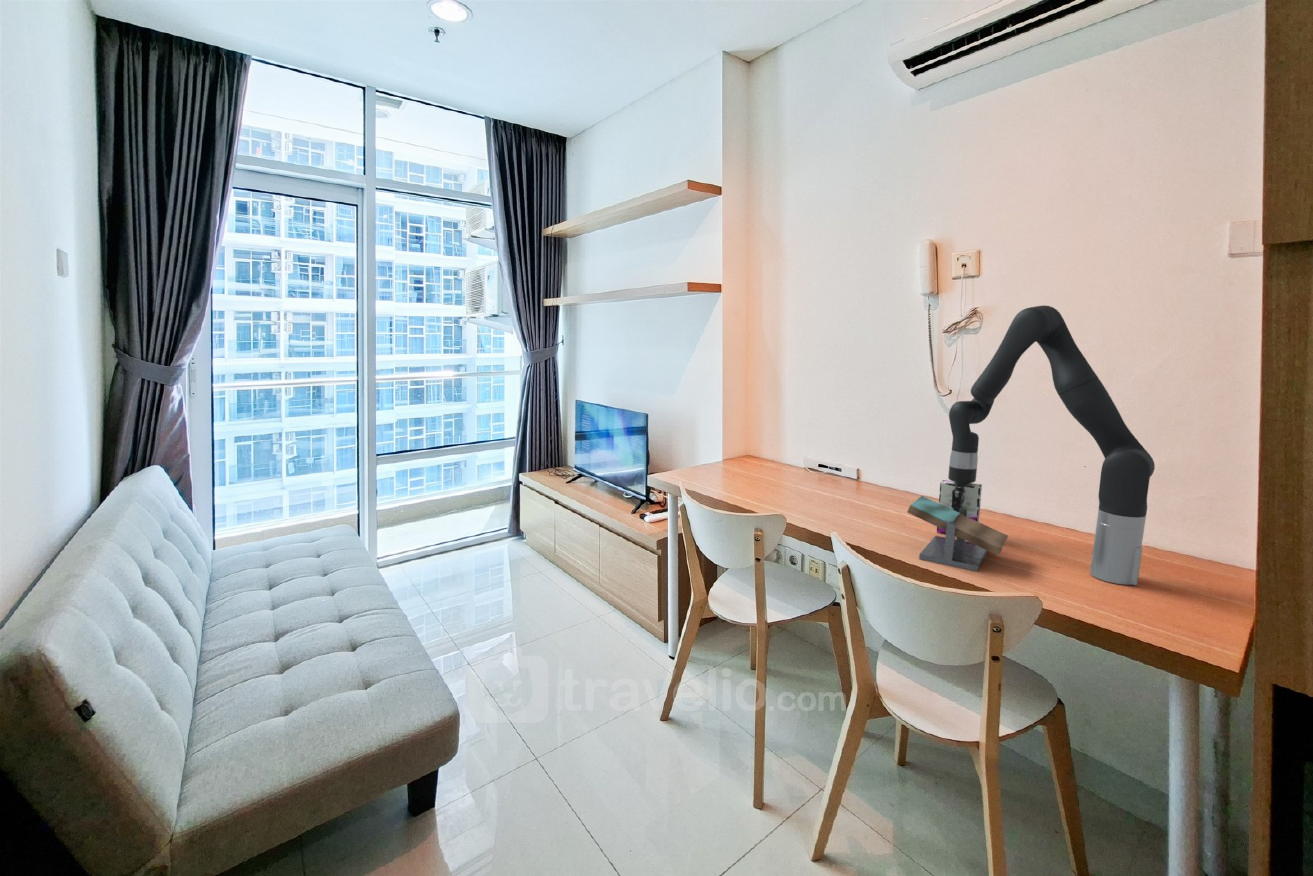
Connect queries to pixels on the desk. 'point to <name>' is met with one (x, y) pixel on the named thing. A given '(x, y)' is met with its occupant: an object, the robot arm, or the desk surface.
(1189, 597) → the desk surface
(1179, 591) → the desk surface
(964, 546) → the beam stand
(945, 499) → the candy bar box
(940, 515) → the balance beam
